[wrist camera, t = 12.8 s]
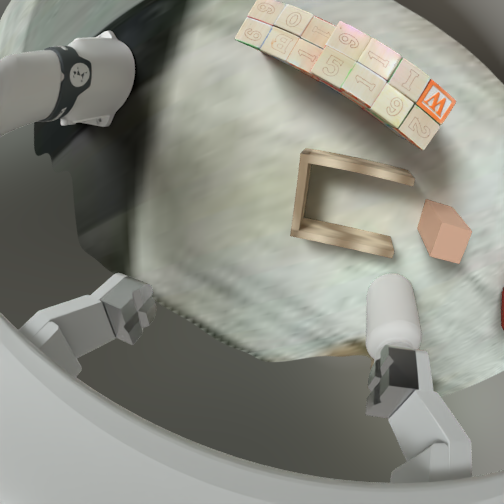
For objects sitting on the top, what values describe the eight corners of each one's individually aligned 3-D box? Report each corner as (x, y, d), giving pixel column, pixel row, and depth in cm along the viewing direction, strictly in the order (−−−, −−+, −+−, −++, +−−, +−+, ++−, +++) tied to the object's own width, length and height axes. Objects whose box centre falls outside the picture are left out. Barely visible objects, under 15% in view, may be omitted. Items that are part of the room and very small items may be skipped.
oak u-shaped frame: (296, 222, 41) (290, 235, 37) (305, 148, 35) (300, 153, 31) (388, 242, 37) (392, 258, 34) (407, 170, 31) (415, 178, 28)
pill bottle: (356, 290, 43) (352, 363, 31) (395, 262, 38) (407, 333, 26) (383, 318, 44) (385, 390, 31) (421, 293, 39) (436, 365, 27)
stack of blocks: (258, 52, 30) (220, 32, 20) (280, 16, 26) (250, -17, 16) (399, 137, 30) (424, 152, 20) (424, 101, 26) (458, 101, 16)
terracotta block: (417, 228, 35) (429, 256, 28) (425, 199, 32) (442, 222, 26) (442, 235, 34) (459, 263, 27) (452, 207, 31) (472, 231, 25)
